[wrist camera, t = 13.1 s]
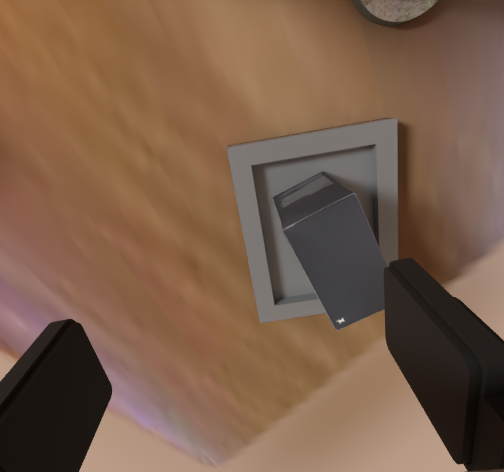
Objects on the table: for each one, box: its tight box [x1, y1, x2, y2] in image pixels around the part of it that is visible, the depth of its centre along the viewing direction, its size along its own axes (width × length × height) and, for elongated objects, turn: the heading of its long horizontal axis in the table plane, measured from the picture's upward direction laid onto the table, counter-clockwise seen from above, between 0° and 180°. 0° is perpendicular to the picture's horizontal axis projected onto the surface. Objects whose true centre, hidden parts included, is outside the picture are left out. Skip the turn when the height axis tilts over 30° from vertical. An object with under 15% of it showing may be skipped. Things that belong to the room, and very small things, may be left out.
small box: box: [272, 171, 388, 330], centre depth 30 cm, size 11×6×10 cm, turn 29°
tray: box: [227, 118, 398, 323], centre depth 35 cm, size 20×16×2 cm
